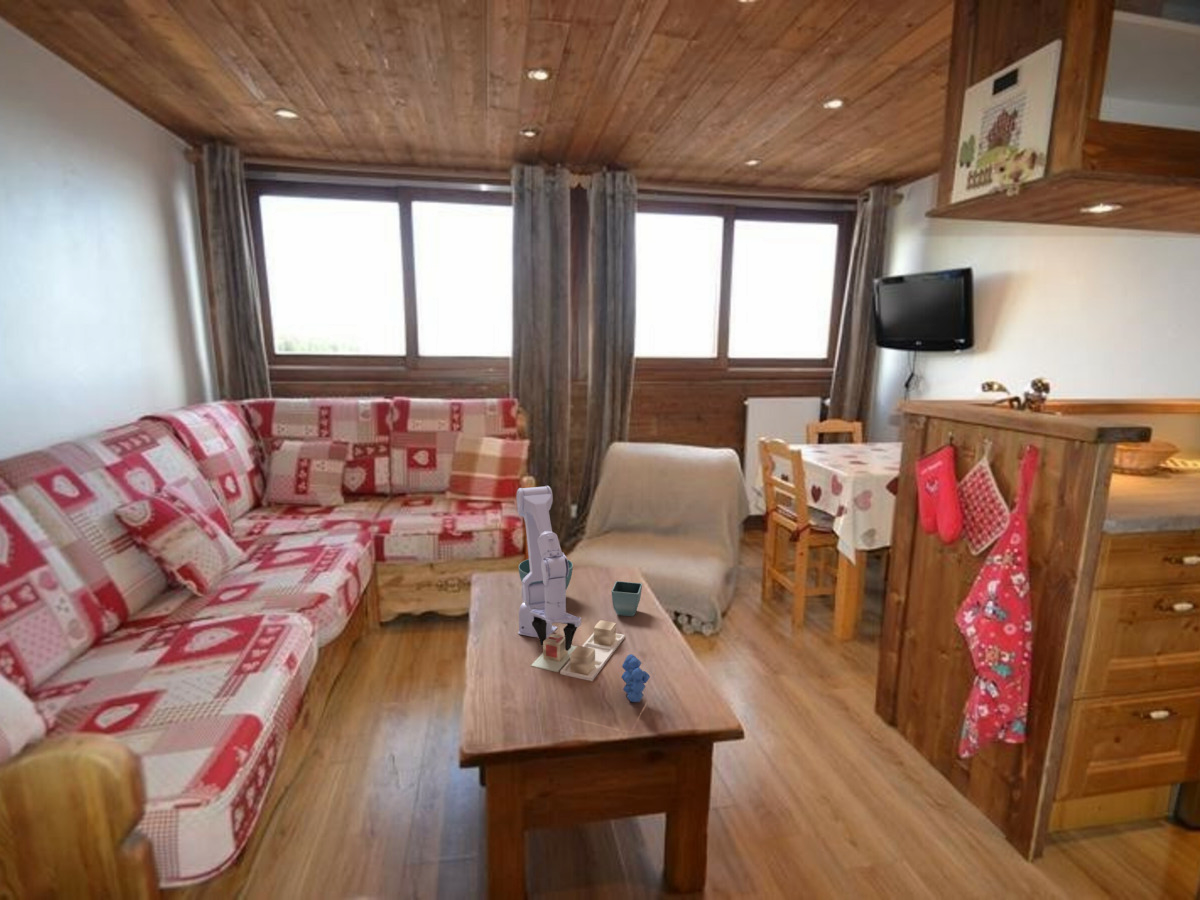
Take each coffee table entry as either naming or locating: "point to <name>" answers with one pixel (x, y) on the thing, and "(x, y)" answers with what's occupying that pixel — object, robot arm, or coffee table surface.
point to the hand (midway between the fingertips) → (555, 646)
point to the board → (552, 662)
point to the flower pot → (626, 597)
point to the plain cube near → (582, 660)
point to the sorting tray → (600, 657)
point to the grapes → (634, 678)
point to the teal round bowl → (525, 569)
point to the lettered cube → (554, 648)
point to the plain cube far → (605, 633)
